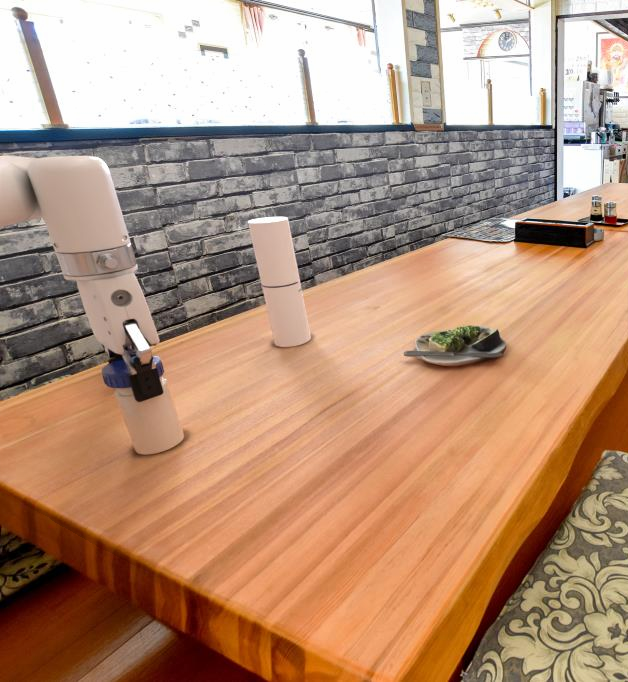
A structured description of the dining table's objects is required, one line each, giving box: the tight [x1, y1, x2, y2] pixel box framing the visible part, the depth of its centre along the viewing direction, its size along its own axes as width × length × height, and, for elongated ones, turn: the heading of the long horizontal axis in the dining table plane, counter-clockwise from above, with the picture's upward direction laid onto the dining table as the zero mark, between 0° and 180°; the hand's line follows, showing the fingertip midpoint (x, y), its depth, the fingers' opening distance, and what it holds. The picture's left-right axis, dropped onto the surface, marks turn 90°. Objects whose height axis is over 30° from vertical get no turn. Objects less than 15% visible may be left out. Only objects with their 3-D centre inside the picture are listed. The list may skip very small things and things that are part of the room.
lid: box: [101, 355, 165, 389], centre depth 71 cm, size 7×7×2 cm
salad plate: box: [403, 324, 507, 368], centre depth 101 cm, size 19×18×5 cm
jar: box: [113, 376, 185, 455], centre depth 74 cm, size 6×6×11 cm
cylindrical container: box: [247, 216, 312, 348], centre depth 106 cm, size 7×7×25 cm
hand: (139, 389), depth 72 cm, fingers closed on lid, 6 cm apart
